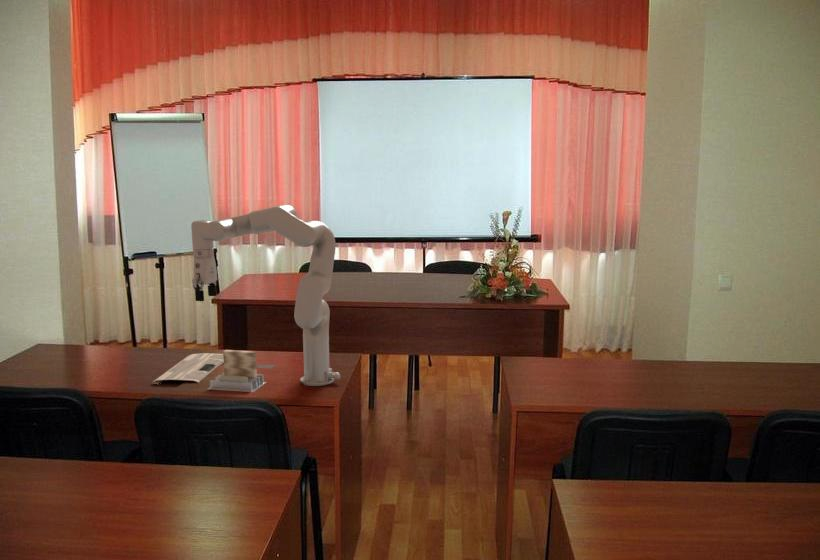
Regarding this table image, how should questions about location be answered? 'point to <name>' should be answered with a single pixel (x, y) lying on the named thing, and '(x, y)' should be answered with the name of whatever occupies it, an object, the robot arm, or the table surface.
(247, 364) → the birch sheet
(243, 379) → the offcut block
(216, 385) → the slot rack
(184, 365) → the newspaper
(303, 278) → the robot arm
